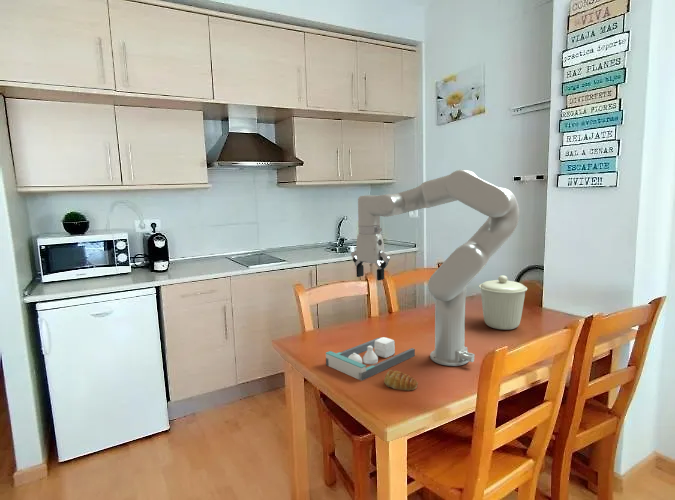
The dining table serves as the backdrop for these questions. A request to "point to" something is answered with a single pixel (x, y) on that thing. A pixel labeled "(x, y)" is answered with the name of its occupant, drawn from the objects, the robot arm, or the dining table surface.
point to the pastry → (400, 380)
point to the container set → (376, 351)
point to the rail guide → (360, 370)
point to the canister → (502, 303)
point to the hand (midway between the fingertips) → (370, 278)
